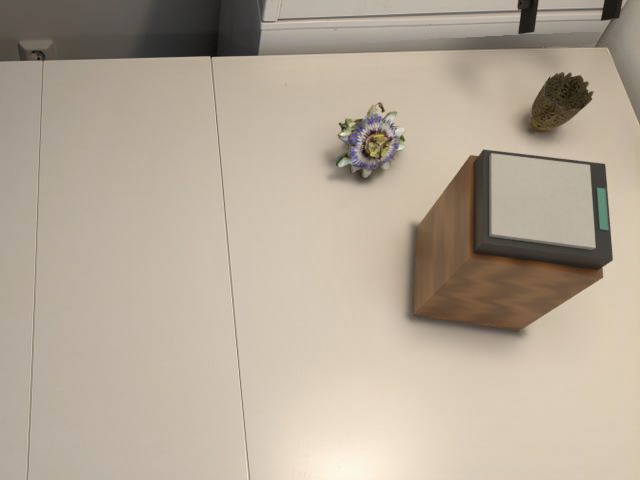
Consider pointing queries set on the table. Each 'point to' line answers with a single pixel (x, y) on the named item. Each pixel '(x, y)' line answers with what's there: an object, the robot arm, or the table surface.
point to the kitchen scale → (541, 209)
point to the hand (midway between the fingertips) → (567, 26)
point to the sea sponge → (559, 101)
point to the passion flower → (371, 141)
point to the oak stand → (482, 270)
